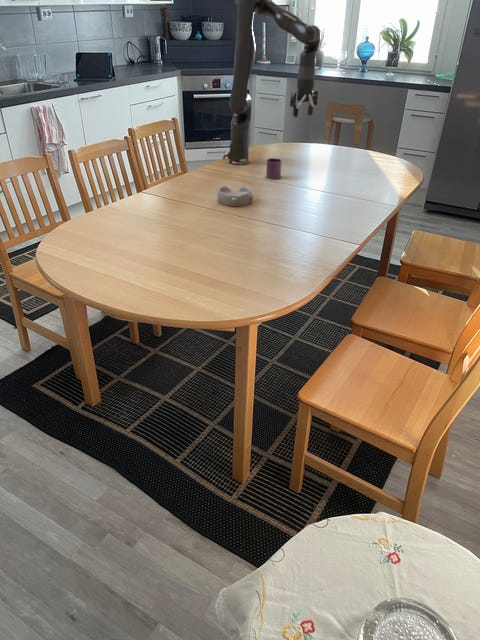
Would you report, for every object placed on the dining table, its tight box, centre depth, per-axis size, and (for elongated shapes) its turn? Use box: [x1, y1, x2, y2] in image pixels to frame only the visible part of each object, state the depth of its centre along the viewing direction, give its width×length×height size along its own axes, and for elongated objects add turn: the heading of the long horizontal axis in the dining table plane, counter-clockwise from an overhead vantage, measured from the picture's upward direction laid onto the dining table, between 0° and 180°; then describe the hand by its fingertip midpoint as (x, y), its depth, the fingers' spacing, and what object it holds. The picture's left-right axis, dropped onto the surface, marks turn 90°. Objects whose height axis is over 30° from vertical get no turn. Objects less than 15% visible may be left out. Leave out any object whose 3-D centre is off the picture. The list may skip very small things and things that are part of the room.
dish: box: [217, 185, 254, 207], centre depth 203 cm, size 14×14×5 cm
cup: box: [265, 157, 283, 180], centre depth 232 cm, size 7×7×8 cm
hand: (302, 116), depth 228 cm, fingers open, 8 cm apart
